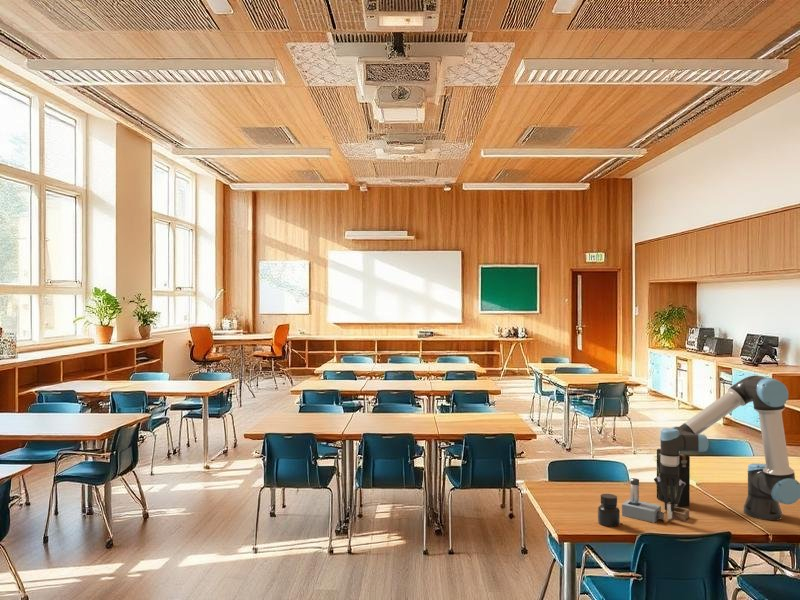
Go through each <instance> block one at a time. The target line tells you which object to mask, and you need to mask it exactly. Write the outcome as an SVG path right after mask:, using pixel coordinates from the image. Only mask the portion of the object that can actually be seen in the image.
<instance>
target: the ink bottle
mask: <svg viewBox="0 0 800 600" xmlns="http://www.w3.org/2000/svg"><path fill="white" fill-rule="evenodd" d="M620 513H621V512H620V509H619V507H618V496H617V495H615V494H612V493H602V494H600V505H599V506H598V508H597V522H598V523H599V525H602V526H604V527H611V528H612V527H618V526H620V519H621V518H620V516H621V514H620Z"/></svg>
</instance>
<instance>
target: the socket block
mask: <svg viewBox="0 0 800 600" xmlns="http://www.w3.org/2000/svg"><path fill="white" fill-rule="evenodd" d="M658 511H659V512H662V505H659V504H654V503H650V502H645V501H641V500H639V506H635V505H630V498H629V499H627V500H625V502H623V503H622V504H621V516H622V517H626V518H632V519H634V520H635V519H636V520H641V521H644V522H648V523H649V522H650V523H653V524H655V523H656V522H657V521H658V520H659V519H658V518H657V512H658Z"/></svg>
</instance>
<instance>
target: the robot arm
mask: <svg viewBox="0 0 800 600" xmlns="http://www.w3.org/2000/svg"><path fill="white" fill-rule="evenodd" d="M788 400H789V390H788V388H787V386H786V385H785V384H784V382H781V381H780V380H779V379H775V378H773V377H766V376H765V377H764V376H760V375H749V376H747V377H744V378H742V379H740V380H739V381H737V382H736V383H735V384H733V385H732V386H730V387H728V388H727V392H726V393H724V394H723V395H722V396H721V397H719V398H717V399H716V400H714V402H712V403H710V404H709V405H707V406H706V407H705V408H703V409H702V410H701V411H699V412H698V413H696V414H695V415H693V416H692V417H690V419H688V420H687V421H685V422H684V423H682V424H681V425H679V426H672V427H670V428H667V427H666V428H662V429H661V431H660V438H659V441H660V449H661V459H660V462H661V463H662V464H661V465H660V475H659V477H657V476H656V477H655V478H653V480H654V482H655V484H656V490H657V489H658V493H659V497H660V500H659V501H661V502H663V503H664V511H666V510H667V519H669V520H672V519H671V518H672V512H674V510H675V504H678V503H679V501H680V498H681V494H682V490H683V487H684V486H685V485H686V483H685V482H683V481H681V480H680V477H679V466H678V465H679V452H692V453H693V452H696V453H703V452H704V453H705V452H707V451H708V449H709V446H710V445H709V438H708V437H707V436H706V435H705V434H702V433H703V432H704V431H706V430H708V428H710V427H711V426H713V425H714V424H716V423H718V422H719V421H720V420H722V419H723V418H725V417H726V416H727V415H729V414H730V413H731V412H733V411H735V409H737V408H739V407H740V406H746V405H747V404H749V403H751V402H752V403H753V410H755V411H756V412H757V413H758V418H759V419H758V420H759V424H760V425H759V426H760V431H761V439H762V445H763V447H762V448H763V454H764V459H765V463H750V464H748V467H747V497H746V499H745V501H744V504H743V513H744V514H745V515H747V516H749V515H750V516H749V517H752V518H755V517H756V519H759V518H761V519H760V520H765V519H769V520H768V521H778V520H777V519H780V518H782V519H783V511H782V508H781V505H780V504H783V505H793V504H795V503H796V502H798V501H799V500H800V482H799V481H798V480H797V479H796V474H795V470H794V469H793V468H792V467H791V466H790V462H789V456H788V448H787V442H786V434H785V427H784V422H783V414H782V413H783V411H784V410H785V409H786V406H785V405H786V403H787V401H788ZM660 479H661V480H662V482H663V483H664V494H663V490H662V486H661V482H660V481H661V480H660ZM678 482H679V486H680V487H679V489H678V493H677V497H676V500H675V485H676V484H677V483H678ZM669 486H670V489H671V503H670V502H669ZM779 503H780V504H779ZM780 520H781V519H780Z"/></svg>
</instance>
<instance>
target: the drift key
mask: <svg viewBox="0 0 800 600" xmlns="http://www.w3.org/2000/svg"><path fill="white" fill-rule="evenodd" d="M657 518H658V520H663V523H665V524H667V523H668V522H670V519H667V511H666V510H664V512H663V511H661V512H659V511H658V512H657Z"/></svg>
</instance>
